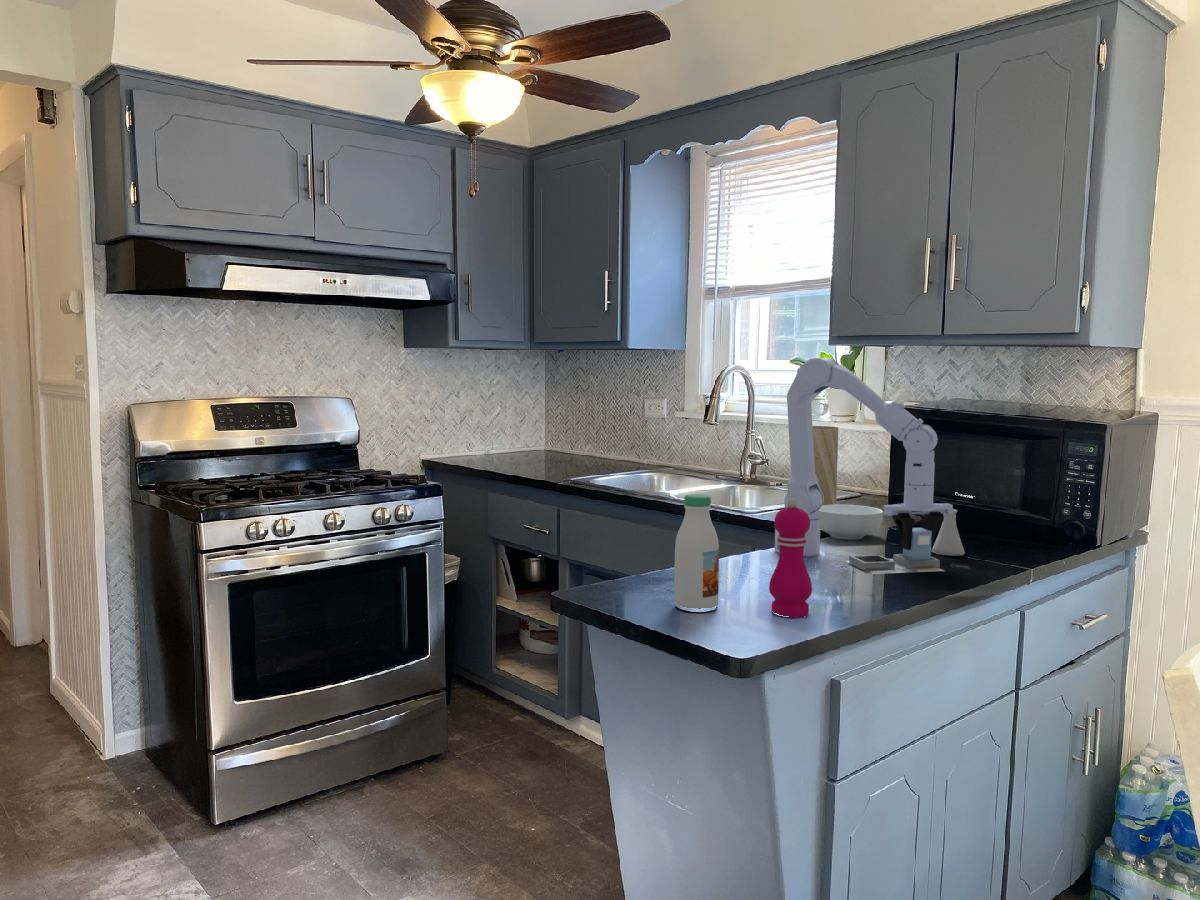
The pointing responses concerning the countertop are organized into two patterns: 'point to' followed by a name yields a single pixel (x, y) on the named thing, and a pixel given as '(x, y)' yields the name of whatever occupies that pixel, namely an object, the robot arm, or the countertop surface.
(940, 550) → the flask
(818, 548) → the robot arm
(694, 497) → the milk bottle
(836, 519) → the cereal bowl
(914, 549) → the plug
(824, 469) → the tapered wooden vase
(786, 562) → the pepper mill
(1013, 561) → the countertop surface
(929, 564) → the panel
